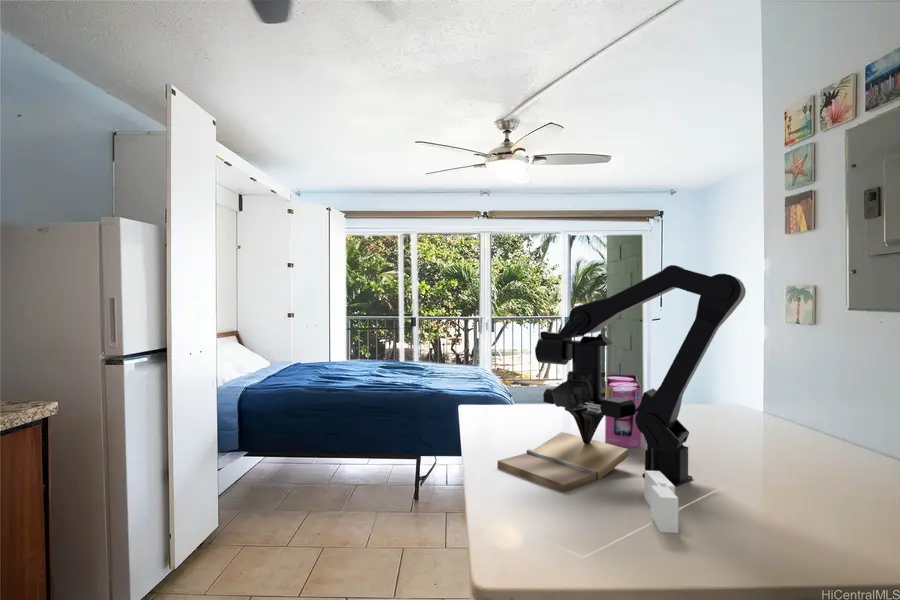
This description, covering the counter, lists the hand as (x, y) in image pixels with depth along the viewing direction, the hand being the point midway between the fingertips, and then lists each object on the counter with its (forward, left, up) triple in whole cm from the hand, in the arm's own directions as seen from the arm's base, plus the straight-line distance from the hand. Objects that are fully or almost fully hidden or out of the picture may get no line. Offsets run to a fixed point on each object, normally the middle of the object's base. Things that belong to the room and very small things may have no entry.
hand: (586, 443), depth 100 cm
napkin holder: (-22, +13, -4) cm, 26 cm away
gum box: (+8, -25, -4) cm, 26 cm away
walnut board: (0, +13, -4) cm, 14 cm away
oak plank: (0, +3, -2) cm, 3 cm away
